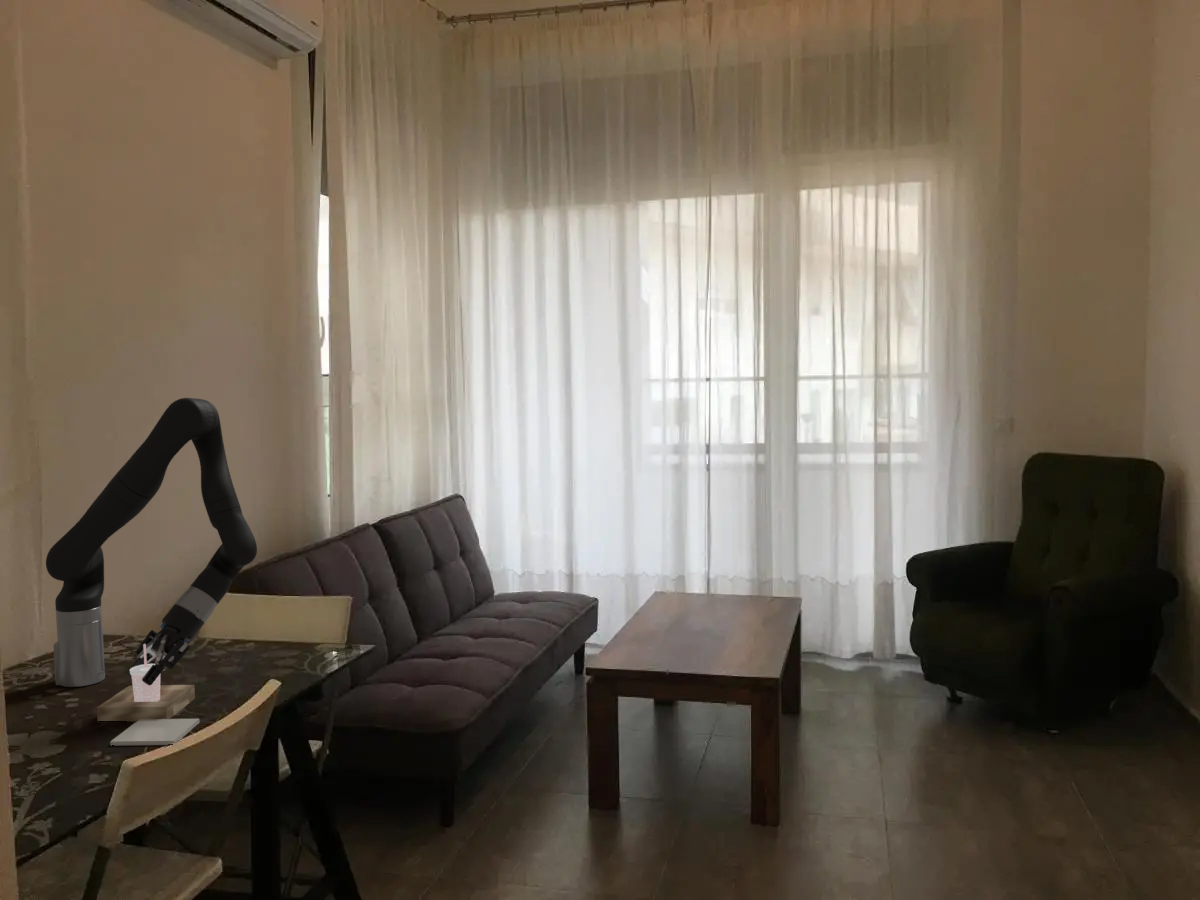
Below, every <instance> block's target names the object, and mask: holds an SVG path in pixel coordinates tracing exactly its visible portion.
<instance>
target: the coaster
mask: <svg viewBox="0 0 1200 900" xmlns="http://www.w3.org/2000/svg"><path fill="white" fill-rule="evenodd" d="M200 721H201V720H200V718H170V719H139V720H138V721H137V722H133V724H131V725H130V726H128V728H126V729H124V731H123V732H120V733H119V734H118V735H117V736H115V738H113V739H112V740H111V741H110V742H109V743H110V746H112V745H114V746H115V747H116V746H120V747H121V746H169V745H168V744H171V743H174V742H176V741H178V740H179V741H181V739H183V738H184V737H185V736H187V734H188V733H189V732H191V730H193V729H194V728H195V727H196V726H197V725H199V723H200ZM179 741H178V742H179Z"/></svg>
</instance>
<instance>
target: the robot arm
mask: <svg viewBox="0 0 1200 900" xmlns="http://www.w3.org/2000/svg"><path fill="white" fill-rule="evenodd" d="M190 441H192V444H193V447H194V449H195V450H196V453H197V456H198V460H199V466H200V491H201V497H202V502H203V504H204V507H205V510H206V513H207V516H208V519H209V522H210V524H211V526H212V527H213V528H214V529H216V530H217V534H218V536H219V538H220V541H221V545H220V546H219V547H218V548H217V550H216V551H215V553H214V554H213V555H212V557H211V558H210V560H209V561H208V564H206V567H205V568H204V569H203V570H202V571H201V572H200V573H199V574H198V575H197V577H196V578H195V579H194V581H192V583H191V585H190V586H189V587H188V588H187V589H186V590H185V591H184V592H183V593H182V594H180V597H179V598H178V599H177V600H176V602H174V604H173V605H172V607H171V608H170V609H169V610H168V612H167V613H166V614H165V616H163V618H162V619H161V623H163V624H164V628H163V629H162V628H161V630H159V632H156V631H155V630H153V629H151V630H149V632H148V634H147V635H146V636H145V638H144V639H143V641H141V643H140V645H139V646H138V648H137V649H136V651H135V655H136V658H137V659H136V660H135V661H134V663H133V664H132V665H131V667H130V668H129V669H128V670H127V672H126V675H127V676H128V677H130V678H131V679H132V676H131V674H130V669H131V668H132V667H134V666H138V665H143V664H144V648H143V644H146V658H147V664H150V663H151V661H152V660H154V659H155V661H154V664H155V665H152V667H151V668H150V669H149V670H148V672H147V673H146V674H145V676H144V677H143V678H142V681H143V682H144V683H146V684H147V685H152V684H153V682H154V681H155V680H156V678H157V677H158V676H159V674H160V673H162V672H163V671H166V670H167V669H168V670H169V671H170V670H173V668H175V666H176V665H177V664H178V663H179V661H181V659H182V657H184V656H185V654H187V652H188V651H189V650H190V647H191V646H190V645H189V644H188V642H187V643H185V642H184V641H185V639H187V640H188V641H192V640H193V639H194V638H195V636H197V634H198V633H199V631H200V630H201V629H202V627H203V626H204V625H205V623H206V622H207V621H208V620H209V618H210V617H211V616H212V615H213V613H214V611H215V609H216V607H217V606H218V604H219V603H220V602H221V601H222V599H223V598H224V597H225V595H226V594H227V593H228V592H229V590H230V587H231V585H232V582H233V581H234V580H235V578H236V577H237V576H238V574H239V573H240V572H241V571H242V569H244V568H245V566H247V565H250V564H251V563H252V562H253V561H254V560H255V559H256V557H257V554H258V547H257V542H256V539H255V538H256V537H255V536H254V534H253V532H252V529H251V528H250V525H249V524H248V522H247V520H246V518H245V517H244V515H243V512H242V511H243V510H242V507H241V505H240V501H239V498H238V495H237V493H236V489H235V486H234V484H233V479H232V477H231V472H230V469H229V464H228V459H227V455H226V449H225V445H224V439H223V431H222V425H221V420H220V416H219V411H218V410H217V407H216V406H215V405H214V404H213V403H212V402H210V401H209V400H207V399H204V398H203V399H202V398H194V397H183V398H178V399H176V400H174V401H173V402H171V403H170V404H169V405H168V407H167V408H166V409H165V411H164V412H163V414H162V415H161V417H160V418H159V420H158V421H157V422H156V424H155V425H154V427H153V428H152V430H151V431H150V433H149V434H148V436H147V437H146V438H145V440H144V441H143V442H142V444H140V446H139V447H138V448H137V449H136V451H135V452H134V453H132V455H131V456H130V457H129V459H128V460H127V461H126V462H125V463H124V465H122V467H121V468H120V469H119V470H118V471H117V472H116V473H115V475H114V476H113V477H111V479H110V481H109V482H108V483H107V485H106V486H105V487H104V488H103V489H102V491H101V492H100V493H99V495H97V497H96V498H95V499H94V500H93V502H92V503H91V505H90V506H89V507H88V508H87V510H86V511H85V512H84V514H83V515H82V516H81V518H80V519H79V520H78V521H77V522H76V523H75V524H74V526H72V527H71V528H70V529H69V530H68V531H67V532H66V533H65V534H64V535H63V536H62V537H60V539H58V540H57V541H56V542H55V543H54V544H53V545H52V546H51V547H50V549H49V550H48V553H47V555H46V559H45V568H46V571H47V573H48V574H49V575H50V577H51V578H53V579H55V580H57V581H60V582H63V584H62V588H61V590H60V592H59V593H58V595H57V596H56V598H55V601H54V602H55V603H54V604H55V618H56V619H55V620H56V634H57V635H56V640H57V642H55V643H54V644H53V661H54V678H55V686H61V687H67V688H74V687H75V688H76V687H84V686H85V687H86V686H91V685H95V684H97V683H98V684H99V683H100V682H102V681H104V680H105V679H106V674H105V673H106V668H105V651H104V633H103V632H104V631H103V613H102V611H103V610H102V597H103V593H104V590H105V559H104V551H103V549H102V546H103V545H104V544H105V542H106V541H108V540H109V538H110V537H112V536H113V535H114V534H115V533H116V532H118V531H119V530H120V529H121V528H123V527H124V526H126V525H127V524H128V523H129V522H131V521H132V520H133V519H134V518H135V517H137V516H138V515H139V514H140V513H141V512H142V511H143V510H144V508H145V507H147V505H148V504H149V503H150V501H152V499H153V498H154V497H155V495H156V494H157V493H158V491H159V489H160V488H161V486H162V484H163V481H164V479H165V475H166V472H167V469H168V467H169V465H170V463H171V462H172V460H173V459H174V457H175V456H176V455H177V454H178V453H179V452H180V450H182V448H184V446H186V444H187V443H189V442H190ZM174 657H175V658H174Z"/></svg>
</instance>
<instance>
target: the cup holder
mask: <svg viewBox="0 0 1200 900" xmlns="http://www.w3.org/2000/svg"><path fill="white" fill-rule="evenodd" d="M195 693H196V691H195V684H168V685H167V684H162V685H161V684H160V700H159V701H158V702H135V701H134V693H133V685H128V686H126V687H125V688H124V689H122V690H120V691H119V692H118V693H116V694H114V695H113V696H112V697H111V698H109V699H108V700H106V701H105V702H103V703H101V704H100V705H98V706H97V707H96V716H97V717H96V719H97V722H98V721H127V722H128V723H129V721H130V722H133V723H135V722H137V721H138V720H139V719H172V718H173V717H174V716H175V715H177V714H178V713H179V712H180V711H181V710H183V708H185V707H186V706H188V704H189V705H190V703H191V702H193V700H195V699H196V694H195Z"/></svg>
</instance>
